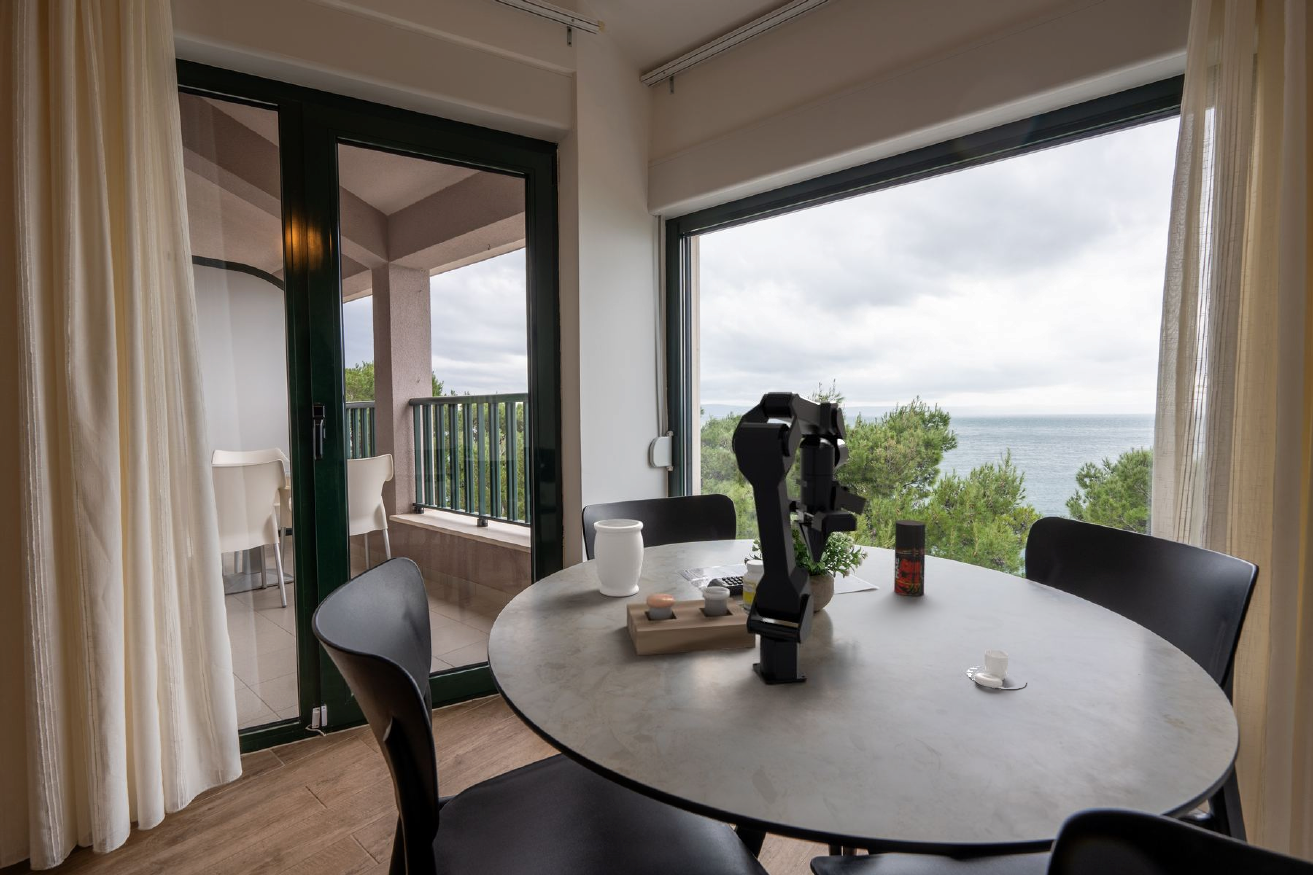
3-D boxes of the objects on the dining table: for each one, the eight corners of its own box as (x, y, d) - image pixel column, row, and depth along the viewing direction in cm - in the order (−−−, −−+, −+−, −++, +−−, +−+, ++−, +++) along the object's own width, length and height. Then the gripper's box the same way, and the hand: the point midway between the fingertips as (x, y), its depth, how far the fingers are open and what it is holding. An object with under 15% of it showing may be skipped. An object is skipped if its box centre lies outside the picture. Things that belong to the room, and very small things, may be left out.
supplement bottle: (769, 607, 129) (770, 558, 128) (772, 616, 124) (772, 566, 123) (742, 606, 129) (742, 558, 129) (743, 615, 124) (743, 565, 123)
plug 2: (732, 616, 113) (732, 593, 112) (706, 618, 112) (706, 595, 112) (725, 607, 117) (725, 585, 117) (699, 609, 117) (699, 587, 116)
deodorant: (888, 589, 140) (889, 521, 139) (908, 586, 143) (910, 519, 142) (909, 597, 135) (910, 526, 134) (930, 593, 137) (931, 523, 136)
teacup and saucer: (989, 696, 91) (990, 668, 91) (950, 673, 99) (951, 647, 99) (1040, 689, 94) (1041, 661, 93) (997, 667, 101) (998, 641, 101)
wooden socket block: (755, 646, 109) (755, 623, 109) (637, 655, 105) (637, 631, 105) (731, 618, 123) (731, 597, 122) (626, 625, 119) (626, 604, 119)
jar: (587, 596, 137) (586, 526, 136) (605, 582, 146) (604, 517, 145) (634, 600, 133) (634, 529, 133) (649, 586, 143) (649, 519, 142)
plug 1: (676, 624, 111) (676, 601, 111) (648, 625, 110) (648, 602, 110) (671, 614, 116) (671, 592, 115) (644, 616, 115) (644, 594, 115)
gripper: (888, 479, 104) (886, 574, 105) (836, 466, 123) (835, 548, 123) (823, 480, 102) (822, 578, 103) (780, 468, 121) (780, 550, 122)
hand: (816, 562), depth 113 cm, fingers closed
